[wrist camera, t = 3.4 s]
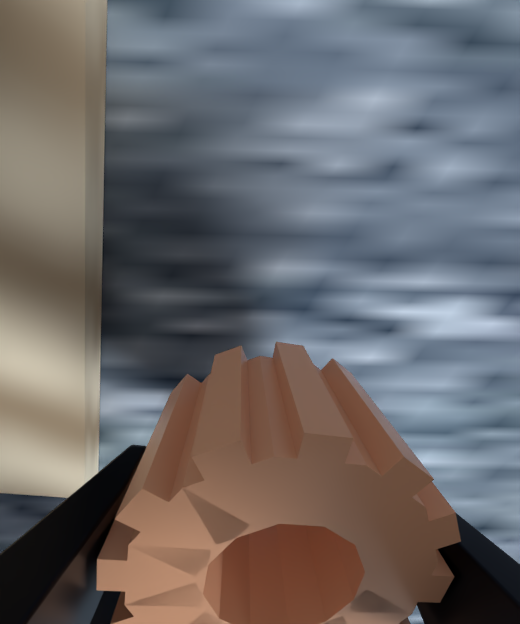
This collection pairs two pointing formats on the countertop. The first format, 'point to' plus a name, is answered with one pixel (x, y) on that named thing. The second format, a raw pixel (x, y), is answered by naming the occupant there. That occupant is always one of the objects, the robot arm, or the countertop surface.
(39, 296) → the gear board
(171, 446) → the coral gear
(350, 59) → the countertop surface
